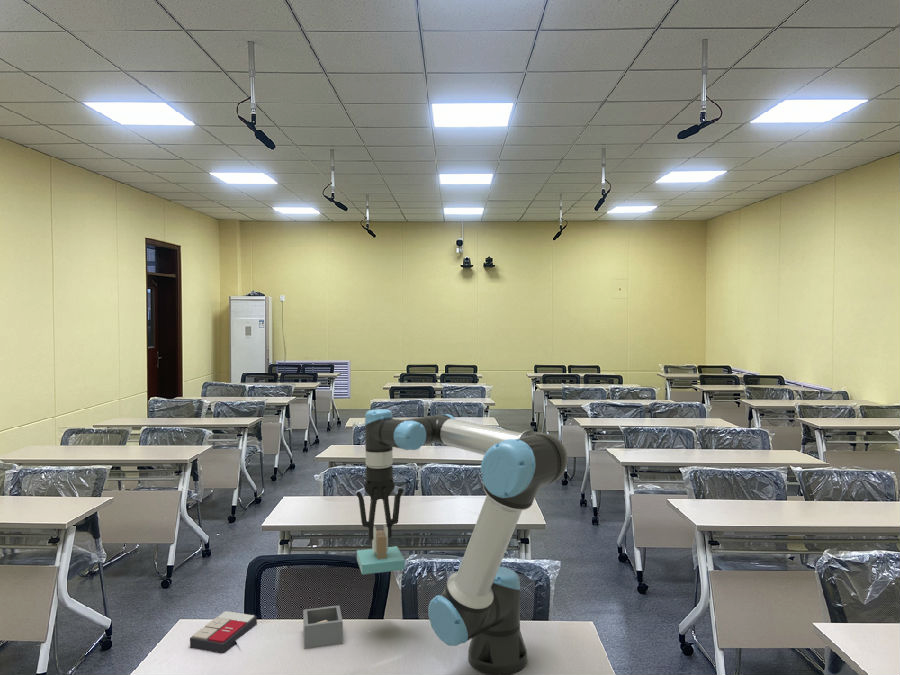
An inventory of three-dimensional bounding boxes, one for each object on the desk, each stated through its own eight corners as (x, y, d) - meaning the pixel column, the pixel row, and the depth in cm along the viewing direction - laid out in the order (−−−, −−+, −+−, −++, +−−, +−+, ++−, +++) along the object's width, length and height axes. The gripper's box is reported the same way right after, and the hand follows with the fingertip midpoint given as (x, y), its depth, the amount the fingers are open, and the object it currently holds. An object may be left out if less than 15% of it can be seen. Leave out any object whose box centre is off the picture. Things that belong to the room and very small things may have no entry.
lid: (405, 569, 163) (404, 538, 163) (362, 574, 160) (361, 542, 160) (397, 554, 175) (396, 525, 175) (356, 559, 171) (356, 529, 171)
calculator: (188, 635, 162) (224, 608, 177) (189, 651, 162) (225, 622, 177) (223, 641, 159) (257, 613, 173) (224, 657, 159) (257, 627, 174)
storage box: (342, 647, 162) (342, 621, 162) (304, 652, 159) (304, 626, 159) (339, 629, 172) (339, 605, 172) (303, 634, 169) (303, 609, 169)
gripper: (403, 461, 173) (405, 542, 173) (349, 464, 169) (350, 548, 169) (409, 466, 166) (410, 551, 166) (352, 470, 162) (353, 557, 162)
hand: (380, 549), depth 167 cm, fingers closed on lid, 2 cm apart
